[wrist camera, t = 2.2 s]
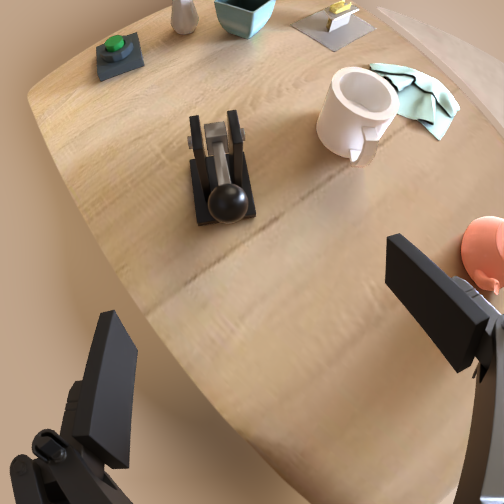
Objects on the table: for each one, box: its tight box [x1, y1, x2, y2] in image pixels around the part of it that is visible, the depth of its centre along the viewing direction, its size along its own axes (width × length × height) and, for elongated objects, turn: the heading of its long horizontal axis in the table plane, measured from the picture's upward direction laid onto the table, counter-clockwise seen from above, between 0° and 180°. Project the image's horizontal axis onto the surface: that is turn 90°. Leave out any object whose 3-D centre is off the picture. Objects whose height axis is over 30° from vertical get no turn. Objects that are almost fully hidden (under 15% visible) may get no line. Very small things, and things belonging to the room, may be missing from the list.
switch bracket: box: [187, 110, 256, 226], centre depth 38 cm, size 10×8×15 cm
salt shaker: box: [171, 0, 199, 35], centre depth 48 cm, size 6×6×13 cm
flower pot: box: [214, 0, 276, 39], centre depth 50 cm, size 9×9×9 cm
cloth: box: [370, 63, 460, 141], centre depth 51 cm, size 20×22×2 cm
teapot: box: [461, 216, 504, 295], centre depth 40 cm, size 12×18×10 cm
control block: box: [96, 32, 144, 81], centre depth 50 cm, size 10×9×4 cm
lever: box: [204, 121, 248, 224], centre depth 30 cm, size 13×3×3 cm, turn 10°
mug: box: [316, 67, 400, 167], centre depth 43 cm, size 14×10×11 cm
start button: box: [105, 35, 124, 52], centre depth 47 cm, size 4×4×2 cm
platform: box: [290, 0, 376, 52], centre depth 53 cm, size 12×18×7 cm, turn 135°
